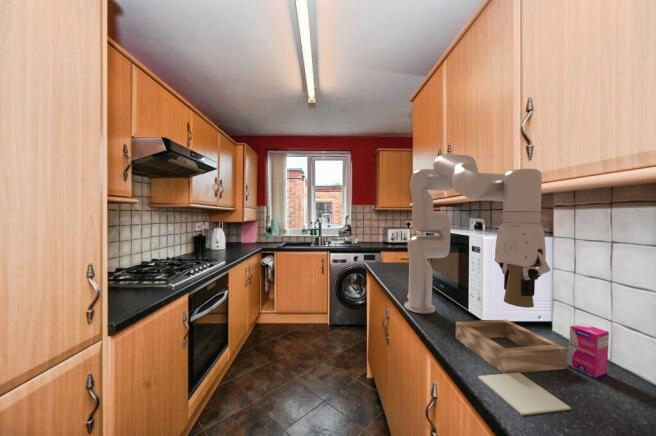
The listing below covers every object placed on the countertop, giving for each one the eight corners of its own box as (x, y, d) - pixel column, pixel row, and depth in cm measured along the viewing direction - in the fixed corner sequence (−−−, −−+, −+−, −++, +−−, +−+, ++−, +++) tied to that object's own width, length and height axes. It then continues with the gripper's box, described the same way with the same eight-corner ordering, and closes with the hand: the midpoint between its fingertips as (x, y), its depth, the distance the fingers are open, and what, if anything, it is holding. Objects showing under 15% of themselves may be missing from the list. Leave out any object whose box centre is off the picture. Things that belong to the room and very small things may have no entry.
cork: (534, 309, 59) (536, 262, 59) (503, 303, 63) (504, 259, 63) (533, 302, 64) (534, 259, 64) (504, 297, 68) (505, 256, 68)
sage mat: (477, 377, 64) (477, 376, 64) (519, 374, 66) (519, 372, 66) (521, 415, 52) (521, 413, 52) (570, 409, 54) (570, 407, 54)
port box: (455, 338, 84) (455, 321, 84) (505, 335, 87) (505, 319, 87) (504, 374, 65) (504, 352, 65) (565, 368, 69) (566, 348, 68)
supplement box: (567, 366, 70) (568, 325, 69) (579, 362, 72) (581, 322, 71) (595, 379, 64) (597, 334, 64) (608, 374, 66) (609, 331, 66)
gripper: (481, 218, 71) (479, 284, 71) (542, 219, 54) (539, 305, 54) (504, 219, 72) (502, 283, 72) (570, 220, 56) (567, 303, 56)
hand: (518, 292), depth 63 cm, fingers closed on cork, 4 cm apart
